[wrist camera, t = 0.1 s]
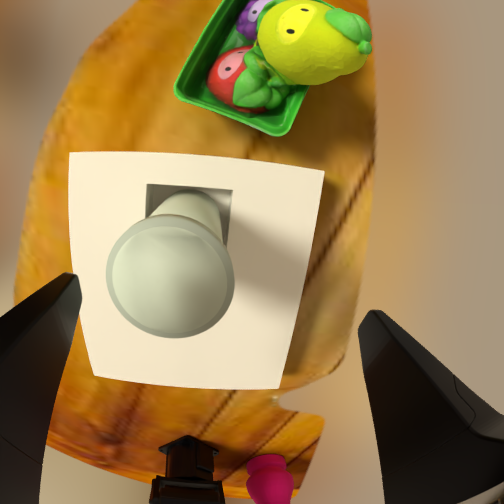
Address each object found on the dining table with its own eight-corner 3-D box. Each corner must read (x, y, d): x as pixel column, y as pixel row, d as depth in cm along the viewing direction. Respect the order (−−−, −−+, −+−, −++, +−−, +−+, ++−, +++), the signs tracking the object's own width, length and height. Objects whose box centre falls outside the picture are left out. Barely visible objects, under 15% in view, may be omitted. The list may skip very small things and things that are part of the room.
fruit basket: (237, -2, 16) (257, -85, 6) (332, 40, 18) (407, -13, 8) (178, 108, 19) (144, 69, 9) (283, 150, 22) (345, 151, 11)
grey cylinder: (187, 266, 23) (170, 357, 12) (140, 217, 21) (83, 277, 11) (238, 223, 22) (261, 289, 12) (192, 170, 20) (169, 188, 10)
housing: (271, 365, 29) (278, 388, 25) (103, 353, 26) (94, 375, 22) (308, 167, 22) (324, 171, 19) (89, 151, 19) (69, 152, 16)
